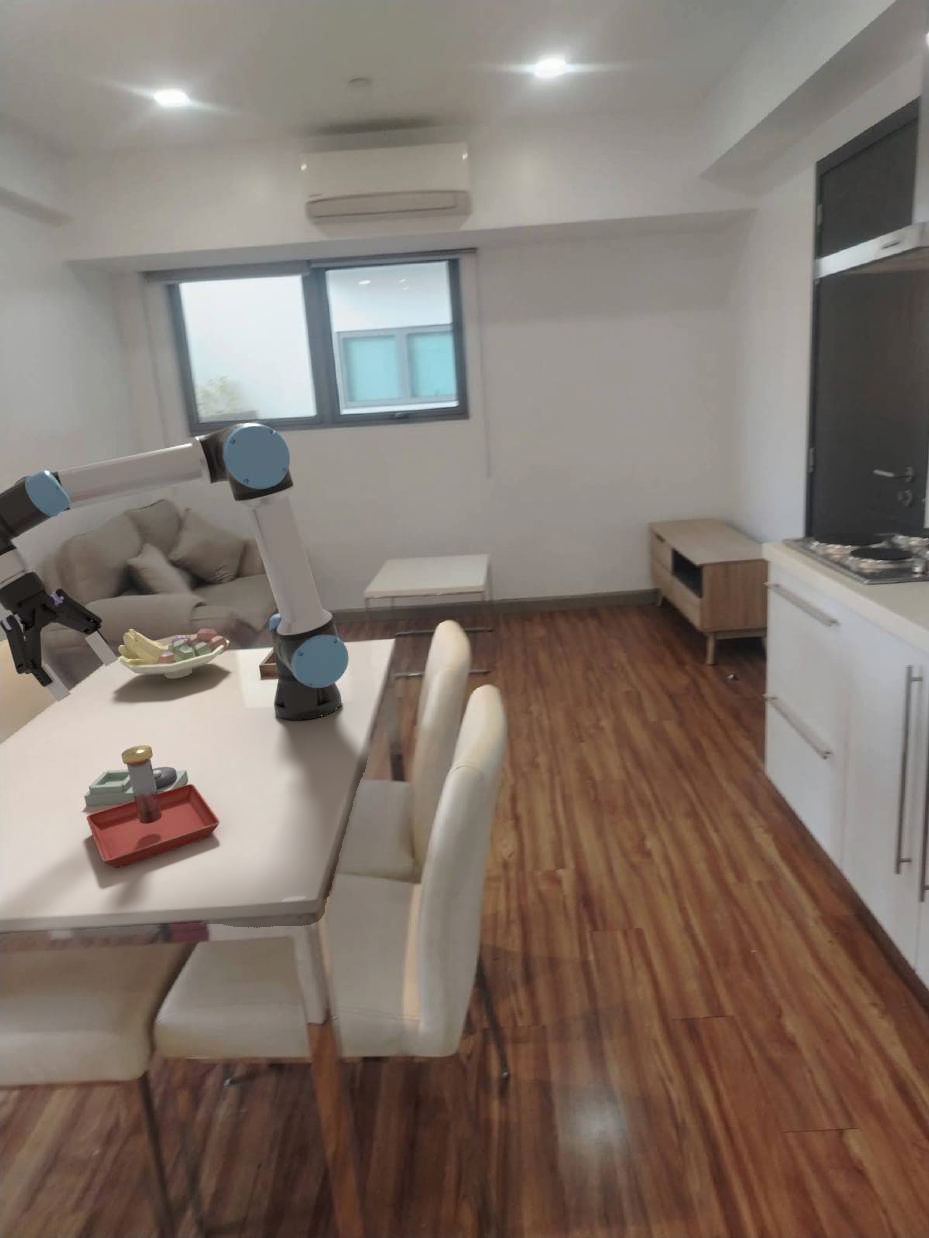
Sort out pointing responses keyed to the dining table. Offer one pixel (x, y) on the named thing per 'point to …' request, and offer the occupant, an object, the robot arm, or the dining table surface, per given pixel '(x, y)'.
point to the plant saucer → (152, 827)
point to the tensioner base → (129, 785)
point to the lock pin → (143, 783)
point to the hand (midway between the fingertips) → (89, 679)
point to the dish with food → (170, 652)
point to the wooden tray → (268, 665)
